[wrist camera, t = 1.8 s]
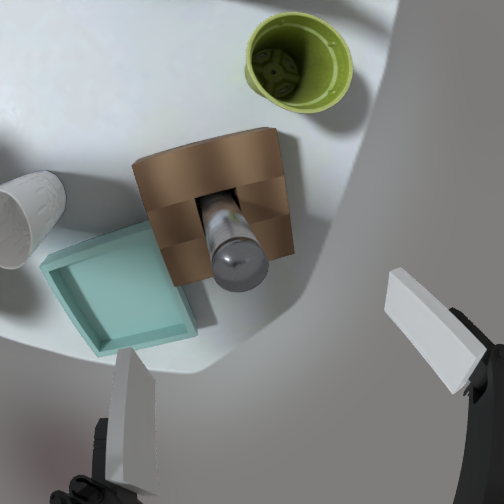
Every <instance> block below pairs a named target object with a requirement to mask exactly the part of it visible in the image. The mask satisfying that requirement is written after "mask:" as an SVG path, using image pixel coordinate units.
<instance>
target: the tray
mask: <svg viewBox="0 0 504 504" xmlns="http://www.w3.org/2000/svg"><path fill="white" fill-rule="evenodd" d="M40 269H41V271H42V273H43V275H44V277H45V278H46V280H47V282H48V284H49V286H50V287H51V289H52V291H53V293H54V294H55V296H56V298H57V299H58V301H59V303H60V304H61V306H62V307H63V309H64V311H65V312H66V314H67V315H68V317H69V318H70V320H71V321H72V323H73V324H74V326H75V327H76V329H77V330H78V332H79V333H80V334H81V336H82V337H83V339H84V340H85V341H86V343H87V344H88V346H89V347H90V348H91V350H92V351H93V352H94V353H95V355H96V356H97V357H103V356H108V355H114V354H117V353H118V349H123V348H128V347H132V348H133V350H139V349H143V348H148V347H152V346H157V345H161V344H166V343H170V342H174V341H179V340H183V339H187V338H191V337H195V336H198V333H197V324H196V320H195V317H194V315H193V313H192V310H191V308H190V305H189V303H188V301H187V298H186V296H185V293H184V291H183V288H182V286H177V287H174V285H173V282H172V280H171V277H170V275H169V272H168V270H167V267H166V265H165V262H164V260H163V257H162V254H161V252H160V249H159V246H158V244H157V241H156V238H155V236H154V233H153V230H152V227H151V224H150V222H149V220H147V221H144V222H141V223H138V224H135V225H132V226H128V227H125V228H122V229H119V230H116V231H113V232H110V233H107V234H105V235H102V236H99V237H96V238H93V239H90V240H87V241H85V242H82V243H79V244H76V245H74V246H71V247H68V248H66V249H63V250H60V251H58V252H55V253H52V254H50V255H48V256H47V257H46V259H45V260H44V261H43V263H42V264H41V265H40Z"/></svg>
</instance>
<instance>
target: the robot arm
mask: <svg viewBox="0 0 504 504" xmlns="http://www.w3.org/2000/svg"><path fill="white" fill-rule="evenodd" d="M384 311H385V312H386V313H387V315H388V316H389V317H390V318H391V319H392V320H393V321H394V323H395V324H396V325H397V326H398V327H399V328H400V330H401V331H402V332H403V333H404V334H405V335H406V337H407V338H408V339H409V340H410V341H411V343H412V344H413V345H414V346H415V347H416V349H417V350H418V351H419V352H420V354H421V355H422V356H423V357H424V358H425V360H426V361H427V362H428V363H429V365H430V366H431V367H432V368H433V370H434V371H435V372H436V373H437V375H438V376H439V377H440V379H441V380H442V381H443V382H444V384H445V385H446V386H447V388H448V389H449V390H450V392H451V393H452V394H454V393H456V392H457V391H458V390H459V389H461V388H462V387H463V386H464V385H465V383H466V382H467V380H468V379H469V380H470V382H471V383H470V384H469V386H468V387H467V388H466V390H465V391H464V394H463V396H465V395H466V394H467V392H468V391H469V394H468V396H469V409H468V424H467V434H466V443H465V450H464V457H463V463H462V468H461V473H460V477H459V482H458V486H457V490H456V495H455V498H454V502H453V504H504V345H503V344H497V345H494V344H493V343H492V342H491V341H490V340H489V339H488V338H487V337H486V336H485V335H484V334H483V333H482V332H481V331H480V330H479V329H478V328H477V327H476V326H475V325H473V323H472V322H471V321H470V320H468V318H467V317H466V316H465V315H464V314H463V313H462V312H461V311H459V310H456V309H455V308H453V307H452V308H450V309H449V310H448V309H447V308H445V306H444V305H443V304H442V303H440V302H439V301H438V300H437V299H436V298H435V297H434V296H433V295H432V294H431V293H429V291H427V290H426V289H425V288H424V287H423V286H422V285H421V284H420V283H419V282H417V281H416V280H415V279H414V278H413V277H412V276H411V275H409V274H408V273H407V272H406V271H405V270H404V269H402V268H401V267H399V268H397V269H394V270H392V271H390V272H389V282H388V289H387V296H386V302H385V308H384ZM155 432H156V431H155V379H154V378H153V376H152V375H151V374H150V372H149V371H148V370H147V368H146V367H145V365H144V364H143V363H142V361H141V360H140V358H139V357H138V355H137V354H136V353H135V351H134V350H133V348H132V347H128V348H123V349H118V353H117V359H116V365H115V371H114V378H113V384H112V392H111V400H110V408H109V418H100V419H99V421H98V423H97V425H96V428H95V435H94V439H95V441H94V446H93V447H94V449H93V460H92V478H89V477H87V476H85V475H78V476H75V477H74V478H73V479H72V480H71V482H70V485H69V492H70V493H69V494H67V493H65V492H63V491H60V490H58V491H54V492H53V493H52V494H51V496H50V504H142V503H141V502H140V501H139V500H138V499H137V494H139V495H142V496H160V493H159V482H158V470H157V455H156V433H155Z"/></svg>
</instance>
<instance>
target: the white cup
mask: <svg viewBox="0 0 504 504" xmlns="http://www.w3.org/2000/svg"><path fill="white" fill-rule="evenodd" d="M65 204H66V194H65V190H64V186H63V184H62V183H61V181H60V180H59V179H58V177H57V176H56V175H54V174H52V173H50V172H48V171H37V172H34V173H31V174H27V175H24V176H22V177H18V178H16V179H13V180H11V181H9V182H6V183H4V184H2V185H0V267H2V268H5V269H10V270H13V269H18V268H20V267H22V266H23V265H24V264H25V263H26V262H27V260H28V259H29V258H30V256H31V255H32V254H33V252H34V251H35V250H36V248H37V247H38V246H39V245H40V243H41V242H42V241H43V240H44V238H45V237H46V236H47V234H48V233H49V232H50V231H51V229H52V228H53V227H54V225H55V224H56V222H57V221H58V220H59V219H60V217H61V215H62V214H63V212H64V210H65Z"/></svg>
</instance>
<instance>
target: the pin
mask: <svg viewBox="0 0 504 504" xmlns="http://www.w3.org/2000/svg"><path fill="white" fill-rule="evenodd" d="M200 206H201V212H202V218H203V223H204V229H205V234H206V240H207V245H208V250H209V255H210V261H211V266H212V271H213V275H214V278H215V280H216V282H217V283H218V285H219V286H221V287H222V288H223V289H225V290H228V291H231V292H244V291H248V290H251V289H253V288H255V287H256V286H257V285H259V284H260V283H261V282H262V281H263V280H264V278H265V276H266V274H267V272H268V266H269V264H268V259H267V256H266V254H265V253H264V251H263V249H262V247H261V246H260V244H259V242H258V240H257V239H256V237H255V235H254V233H253V232H252V230H251V228H250V227H249V225H248V223H247V221H246V220H245V218H244V216H243V214H242V213H241V211H240V209H239V208H238V206H237V204H236V202H235V201H234V199H233V197H232V196H231V194H230V192H229V191H228V190H223V191H219V192H215V193H211V194H208V195H204V196H201V197H200Z"/></svg>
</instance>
